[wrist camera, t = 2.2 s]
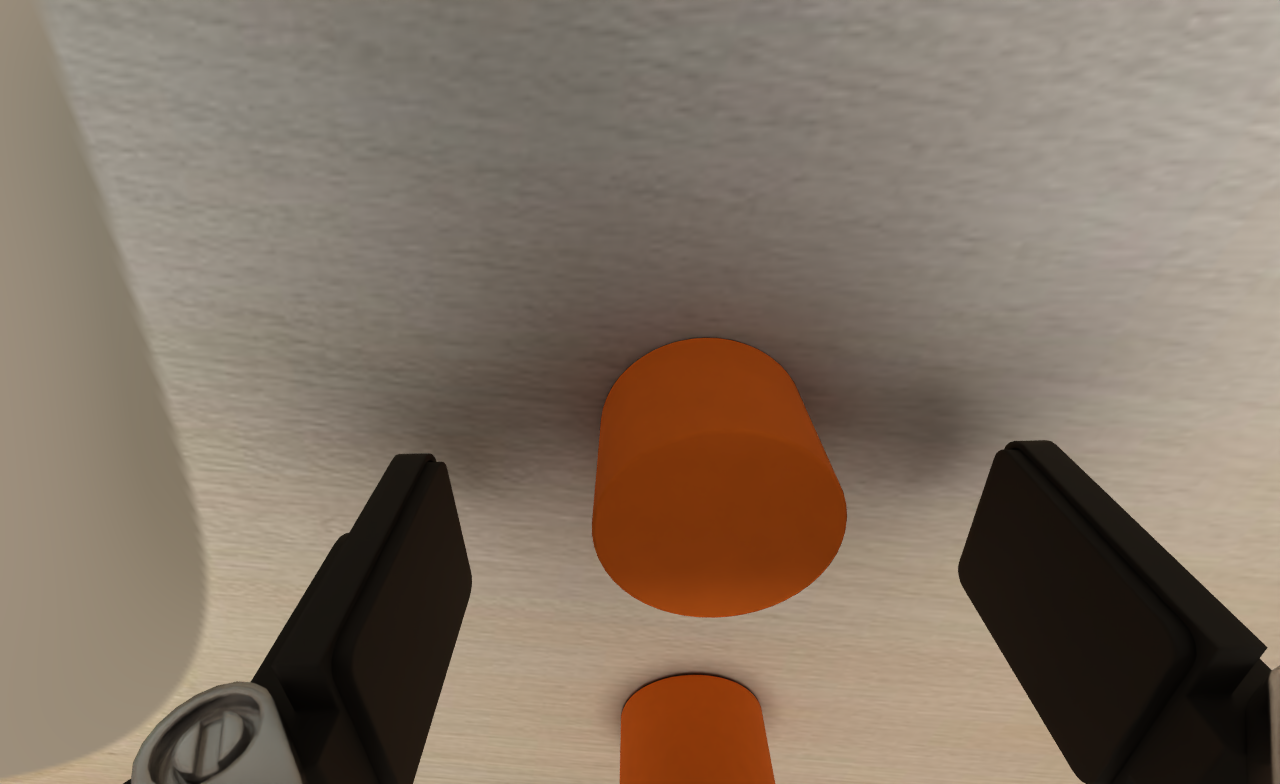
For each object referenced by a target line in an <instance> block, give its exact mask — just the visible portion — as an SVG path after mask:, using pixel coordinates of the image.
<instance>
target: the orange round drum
mask: <svg viewBox="0 0 1280 784" xmlns="http://www.w3.org/2000/svg"><path fill="white" fill-rule="evenodd" d="M620 784H775V780H774V775H773V769H772V764H771V759H770V753H769V748H768V742H767V737H766V732H765V726H764V721H763V715H762V710H761V707H760V704H759V702H758V701H757V699H756V698H755V696H754V695H753V694H752V693H751V692H750V691H749V690H747V689H746V688H744V687H743V686H741V685H739V684H737V683H735V682H733V681H730V680H727V679H724V678H720V677H715V676H708V675H682V676H675V677H670V678H666V679H662V680H659V681H656V682H654V683H651V684H649V685H647V686H645V687H643V688H642V689H640V690H639V691H637V692H636V693H635V694H634V695H633V696H632V697H631V698H630V699H629V700H628V701H627V703H626V705H625V707H624V709H623V711H622V715H621V747H620Z"/></svg>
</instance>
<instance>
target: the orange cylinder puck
mask: <svg viewBox="0 0 1280 784" xmlns="http://www.w3.org/2000/svg"><path fill="white" fill-rule="evenodd" d="M846 521H847V509H846V501H845V497H844V493H843V490H842V488H841V486H840V484H839V482H838V479H837V477H836V475H835V473H834V470H833V468H832V466H831V464H830V461H829V459H828V457H827V455H826V453H825V450H824V448H823V446H822V444H821V441H820V439H819V437H818V435H817V433H816V430H815V428H814V426H813V424H812V421H811V419H810V417H809V415H808V413H807V410H806V408H805V406H804V404H803V401H802V399H801V397H800V395H799V393H798V390H797V388H796V386H795V384H794V382H793V380H792V379H791V377H790V376H789V374H788V373H787V372H786V371H785V370H784V369H783V368H782V366H781V365H780V364H779V363H777V362H776V361H775V360H774V359H772V358H771V357H770V356H768V355H767V354H765V353H763V352H762V351H760V350H758V349H756V348H754V347H751V346H749V345H747V344H743V343H740V342H736V341H733V340H727V339H720V338H695V339H687V340H682V341H677V342H674V343H671V344H668V345H665V346H662V347H660V348H658V349H656V350H654V351H651V352H650V353H648V354H646V355H645V356H643V357H642V358H640V359H638V360H637V361H636V362H635V363H633V364H632V365H631V366H630V367H629V368H628V369H627V370H626V371H625V372H624V373H623V374H622V375H621V376H620V377H619V378H618V380H617V381H616V383H615V384H614V385H613V387H612V388H611V390H610V392H609V394H608V396H607V398H606V401H605V404H604V407H603V411H602V417H601V426H600V438H599V449H598V460H597V472H596V483H595V495H594V506H593V518H592V537H593V543H594V548H595V550H596V553H597V556H598V558H599V560H600V562H601V564H602V566H603V567H604V569H605V571H606V572H607V573H608V575H609V576H610V577H611V578H612V580H613V581H614V582H615V583H616V584H617V585H619V586H620V587H621V588H622V589H623V590H624V591H626V592H627V593H628V594H630V595H631V596H632V597H634V598H636V599H638V600H640V601H641V602H643V603H645V604H647V605H650V606H652V607H655V608H657V609H660V610H663V611H667V612H670V613H674V614H679V615H684V616H693V617H713V618H714V617H729V616H736V615H742V614H747V613H751V612H755V611H759V610H762V609H765V608H768V607H771V606H773V605H776V604H778V603H780V602H783V601H785V600H787V599H788V598H790V597H792V596H794V595H796V594H797V593H799V592H800V591H802V590H803V589H805V588H806V587H807V586H809V585H810V584H811V583H812V582H813V581H815V580H816V579H817V578H818V577H819V576H820V575H821V574H822V573H823V572H824V571H825V569H826V568H827V567H828V566H829V565H830V563H831V562H832V560H833V559H834V557H835V556H836V554H837V552H838V550H839V548H840V546H841V544H842V540H843V537H844V534H845V529H846Z"/></svg>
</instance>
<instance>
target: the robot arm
mask: <svg viewBox="0 0 1280 784" xmlns="http://www.w3.org/2000/svg"><path fill="white" fill-rule="evenodd" d="M958 574H959V579H960V582H961V584H962V586H963V588H964V590H965V591H966V593H967V595H968V597H969V598H970V600H971V602H972V603H973V605H974V607H975V608H976V610H977V612H978V613H979V615H980V617H981V618H982V620H983V622H984V623H985V625H986V627H987V628H988V630H989V632H990V633H991V635H992V637H993V638H994V640H995V642H996V643H997V645H998V647H999V648H1000V650H1001V652H1002V653H1003V655H1004V657H1005V658H1006V660H1007V662H1008V663H1009V665H1010V667H1011V668H1012V670H1013V672H1014V673H1015V675H1016V677H1017V678H1018V680H1019V682H1020V683H1021V685H1022V687H1023V689H1024V690H1025V692H1026V694H1027V695H1028V697H1029V699H1030V700H1031V702H1032V704H1033V705H1034V707H1035V709H1036V710H1037V712H1038V714H1039V715H1040V717H1041V719H1042V720H1043V722H1044V724H1045V725H1046V727H1047V729H1048V730H1049V732H1050V734H1051V735H1052V737H1053V739H1054V740H1055V742H1056V744H1057V745H1058V747H1059V749H1060V750H1061V752H1062V754H1063V755H1064V757H1065V759H1066V760H1067V762H1068V764H1069V765H1070V767H1071V769H1072V770H1073V772H1074V773H1075V775H1076V776H1077V777H1078V778H1079V779H1080V780H1081V781H1082V782H1084V783H1086V784H1280V666H1278V667H1277V668H1275V669H1274V670H1271V669H1270V668H1269V667H1268V666H1267V665H1266V664H1265V663H1264V662H1263V661H1262V660H1261V659H1260V657H1261V655H1262V654H1263V653H1264V652H1265V650H1266V649H1267V647H1266V646H1265V645H1264V644H1263V643H1262V642H1261V641H1260V640H1259V639H1258V638H1257V637H1256V636H1255V635H1254V634H1253V633H1252V632H1251V631H1250V630H1249V629H1248V628H1247V627H1246V626H1245V625H1243V624H1242V623H1241V622H1240V621H1239V620H1238V619H1237V618H1236V617H1235V616H1234V615H1233V614H1232V613H1231V612H1230V611H1229V610H1228V609H1227V608H1226V607H1225V606H1224V605H1223V604H1222V603H1221V602H1220V601H1218V600H1217V599H1216V598H1215V597H1214V596H1213V595H1212V594H1211V593H1210V592H1209V591H1208V590H1207V589H1206V588H1205V587H1204V586H1203V585H1202V584H1201V583H1200V582H1199V581H1198V580H1197V579H1196V578H1194V577H1193V576H1192V575H1191V574H1190V573H1189V572H1188V571H1187V570H1186V569H1185V568H1184V567H1183V566H1182V565H1181V564H1180V563H1179V562H1178V561H1177V560H1176V559H1175V558H1174V557H1173V556H1172V555H1171V554H1169V553H1168V552H1167V551H1166V550H1165V549H1164V548H1163V547H1162V546H1161V545H1160V544H1159V543H1158V542H1157V541H1156V540H1155V539H1154V538H1153V537H1152V536H1151V535H1150V534H1149V533H1148V532H1147V531H1146V530H1144V529H1143V528H1142V527H1141V526H1140V525H1139V524H1138V523H1137V522H1136V521H1135V520H1134V519H1133V518H1132V517H1131V516H1130V515H1129V514H1128V513H1127V512H1126V511H1125V510H1124V509H1123V508H1122V507H1121V506H1119V505H1118V504H1117V503H1116V502H1115V501H1114V500H1113V499H1112V498H1111V497H1110V496H1109V495H1108V494H1107V493H1106V492H1105V491H1104V490H1103V489H1102V488H1101V487H1100V486H1099V485H1098V484H1097V483H1095V482H1094V481H1093V480H1092V479H1091V478H1090V477H1089V476H1088V475H1087V474H1086V473H1085V472H1084V471H1083V470H1082V469H1081V468H1080V467H1079V466H1078V465H1077V464H1076V463H1075V462H1074V461H1073V460H1072V459H1070V458H1069V457H1068V456H1067V455H1066V454H1065V453H1064V452H1063V451H1062V450H1061V449H1060V448H1059V447H1058V446H1057V445H1056V444H1054V443H1053V442H1051V441H1047V440H1039V441H1013V442H1010V443H1008V444H1007V445H1006V447H1005V449H1004V450H1000V451H998V452H997V453H996V455H995V457H994V460H993V463H992V466H991V469H990V472H989V475H988V478H987V481H986V484H985V487H984V490H983V493H982V496H981V499H980V502H979V505H978V508H977V511H976V514H975V516H974V519H973V522H972V525H971V528H970V531H969V534H968V537H967V540H966V543H965V546H964V549H963V552H962V555H961V558H960V561H959V565H958ZM471 587H472V575H471V570H470V565H469V561H468V557H467V552H466V548H465V544H464V539H463V535H462V531H461V526H460V522H459V518H458V513H457V509H456V505H455V500H454V496H453V492H452V487H451V483H450V479H449V474H448V470H447V467H446V464H445V463H444V462H436V459H435V457H434V456H433V455H432V454H398V455H396V456H395V457H394V458H393V460H392V461H391V463H390V465H389V466H388V468H387V470H386V471H385V473H384V475H383V476H382V478H381V480H380V482H379V483H378V485H377V487H376V488H375V490H374V492H373V493H372V495H371V497H370V499H369V500H368V502H367V504H366V505H365V507H364V509H363V510H362V512H361V514H360V516H359V517H358V519H357V521H356V522H355V524H354V526H353V527H352V529H351V531H350V532H349V533H346V534H344V535H342V536H341V537H340V538H339V539H338V540H337V541H336V543H335V544H334V546H333V547H332V549H331V550H330V552H329V554H328V555H327V557H326V559H325V560H324V562H323V564H322V565H321V567H320V569H319V570H318V572H317V574H316V575H315V577H314V579H313V580H312V582H311V584H310V585H309V587H308V588H307V590H306V592H305V593H304V595H303V597H302V598H301V600H300V602H299V603H298V605H297V607H296V608H295V610H294V612H293V613H292V615H291V617H290V618H289V620H288V621H287V623H286V625H285V626H284V628H283V630H282V631H281V633H280V635H279V636H278V638H277V640H276V641H275V643H274V645H273V646H272V648H271V650H270V651H269V653H268V654H267V656H266V658H265V659H264V661H263V663H262V664H261V666H260V668H259V669H258V671H257V673H256V674H255V676H254V678H253V679H252V681H251V682H233V683H228V684H223V685H218V686H216V687H213V688H211V689H209V690H206V691H204V692H202V693H199V694H197V695H195V696H194V697H192V698H191V699H189V700H187V701H186V702H184V703H183V704H181V705H180V706H178V707H176V708H175V709H174V710H173V711H172V712H171V713H170V714H168V715H167V716H166V717H165V718H164V719H163V720H162V721H161V722H159V723H158V724H157V725H156V727H155V728H154V729H153V731H152V732H151V733H150V734H149V736H148V737H147V738H146V739H145V741H144V742H143V743H142V745H141V747H140V749H139V752H138V754H137V756H136V758H135V760H134V762H133V768H132V776H131V779H130V780H128V781H127V782H125V783H123V784H413V782H414V778H415V775H416V772H417V768H418V765H419V762H420V759H421V755H422V752H423V749H424V745H425V742H426V739H427V736H428V732H429V729H430V726H431V722H432V719H433V716H434V713H435V709H436V706H437V703H438V699H439V696H440V693H441V689H442V686H443V683H444V680H445V676H446V673H447V670H448V666H449V663H450V660H451V657H452V653H453V650H454V647H455V643H456V640H457V637H458V633H459V630H460V627H461V624H462V620H463V617H464V614H465V610H466V607H467V604H468V601H469V597H470V593H471Z"/></svg>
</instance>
